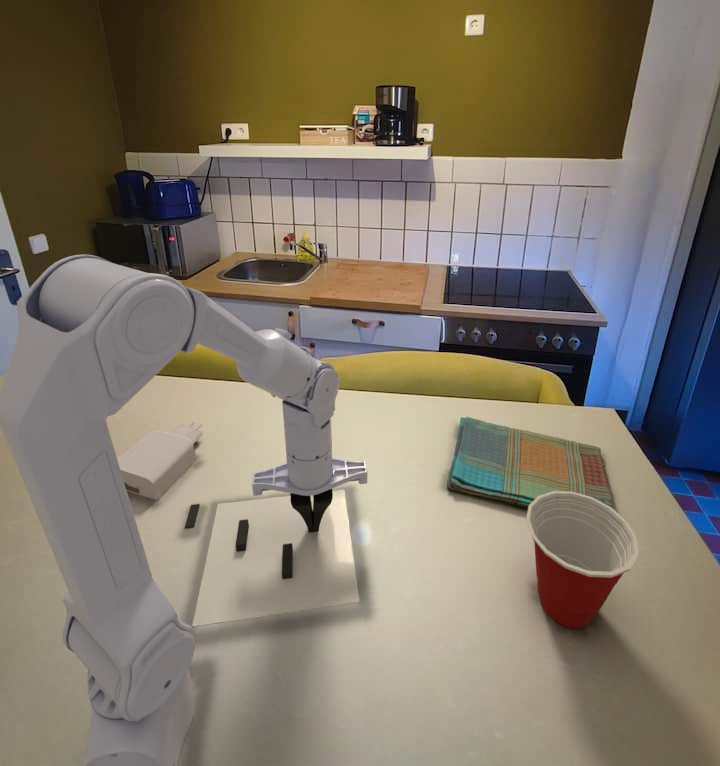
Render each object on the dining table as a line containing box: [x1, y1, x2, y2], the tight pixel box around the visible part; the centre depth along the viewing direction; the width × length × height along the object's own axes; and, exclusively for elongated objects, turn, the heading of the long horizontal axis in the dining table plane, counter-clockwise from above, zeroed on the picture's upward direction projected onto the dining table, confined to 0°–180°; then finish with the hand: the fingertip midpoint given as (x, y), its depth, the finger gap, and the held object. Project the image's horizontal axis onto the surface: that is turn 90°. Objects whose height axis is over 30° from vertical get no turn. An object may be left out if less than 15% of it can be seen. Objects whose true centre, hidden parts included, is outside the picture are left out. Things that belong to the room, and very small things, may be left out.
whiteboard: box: [191, 489, 360, 628], centre depth 56 cm, size 18×20×1 cm
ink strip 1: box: [184, 503, 200, 529], centre depth 61 cm, size 4×1×1 cm
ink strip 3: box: [282, 543, 293, 579], centre depth 53 cm, size 4×1×1 cm, turn 8°
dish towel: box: [446, 416, 616, 511], centre depth 69 cm, size 17×23×2 cm
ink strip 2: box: [236, 519, 249, 552], centre depth 57 cm, size 4×1×1 cm, turn 8°
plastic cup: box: [525, 491, 640, 630], centre depth 48 cm, size 11×11×12 cm
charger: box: [117, 421, 203, 501], centre depth 71 cm, size 5×9×15 cm
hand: (313, 525), depth 58 cm, fingers closed
